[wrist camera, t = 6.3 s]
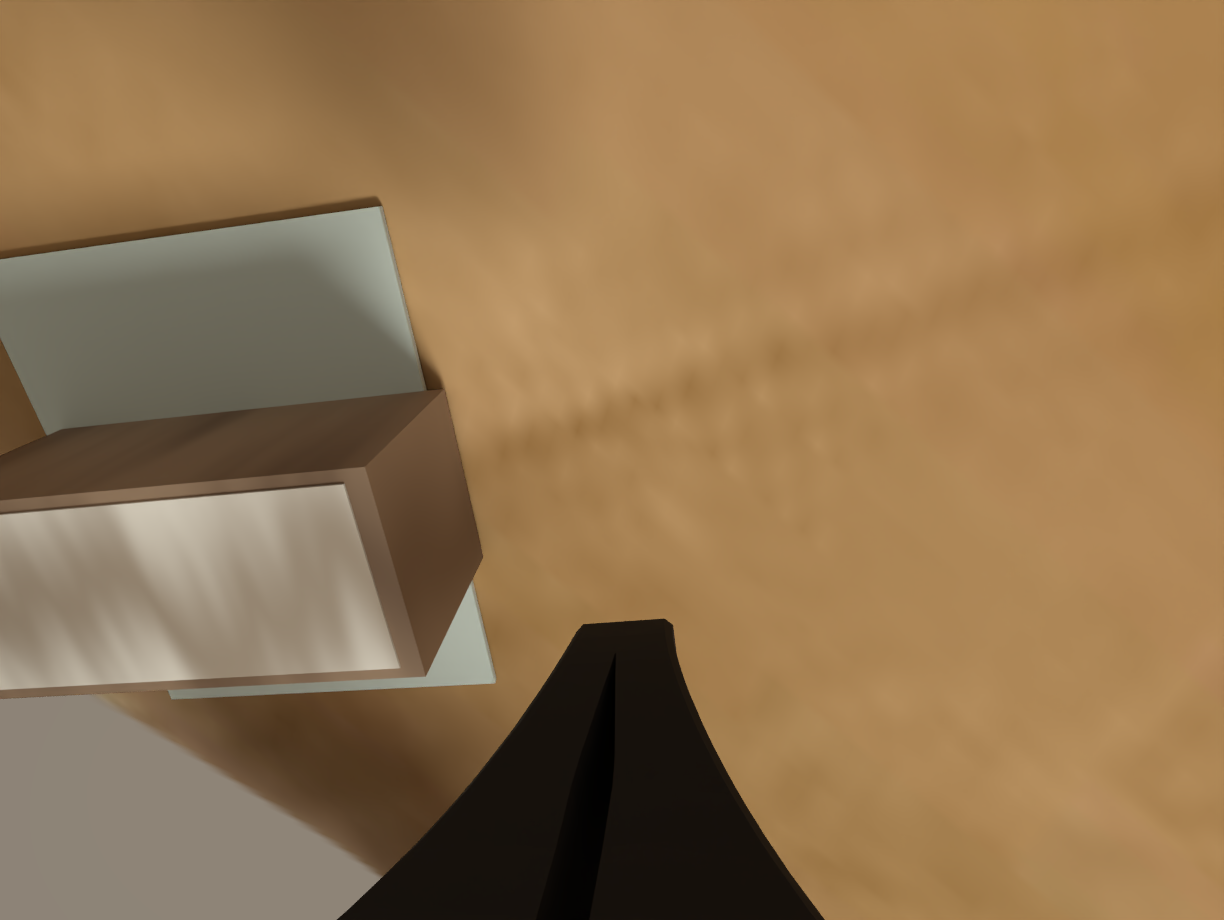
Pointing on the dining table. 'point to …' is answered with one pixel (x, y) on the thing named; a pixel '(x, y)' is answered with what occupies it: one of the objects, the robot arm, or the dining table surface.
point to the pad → (226, 350)
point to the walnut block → (234, 548)
